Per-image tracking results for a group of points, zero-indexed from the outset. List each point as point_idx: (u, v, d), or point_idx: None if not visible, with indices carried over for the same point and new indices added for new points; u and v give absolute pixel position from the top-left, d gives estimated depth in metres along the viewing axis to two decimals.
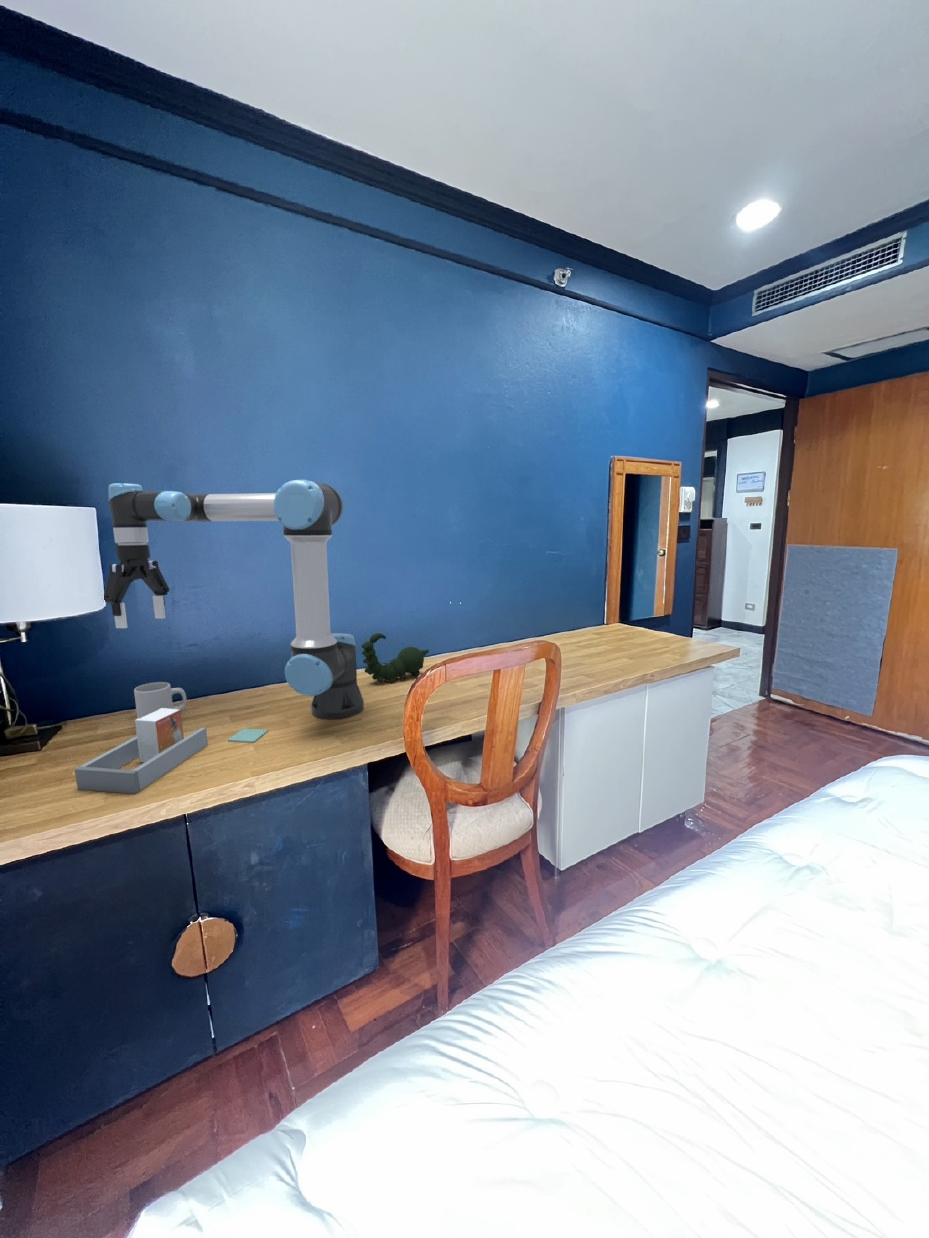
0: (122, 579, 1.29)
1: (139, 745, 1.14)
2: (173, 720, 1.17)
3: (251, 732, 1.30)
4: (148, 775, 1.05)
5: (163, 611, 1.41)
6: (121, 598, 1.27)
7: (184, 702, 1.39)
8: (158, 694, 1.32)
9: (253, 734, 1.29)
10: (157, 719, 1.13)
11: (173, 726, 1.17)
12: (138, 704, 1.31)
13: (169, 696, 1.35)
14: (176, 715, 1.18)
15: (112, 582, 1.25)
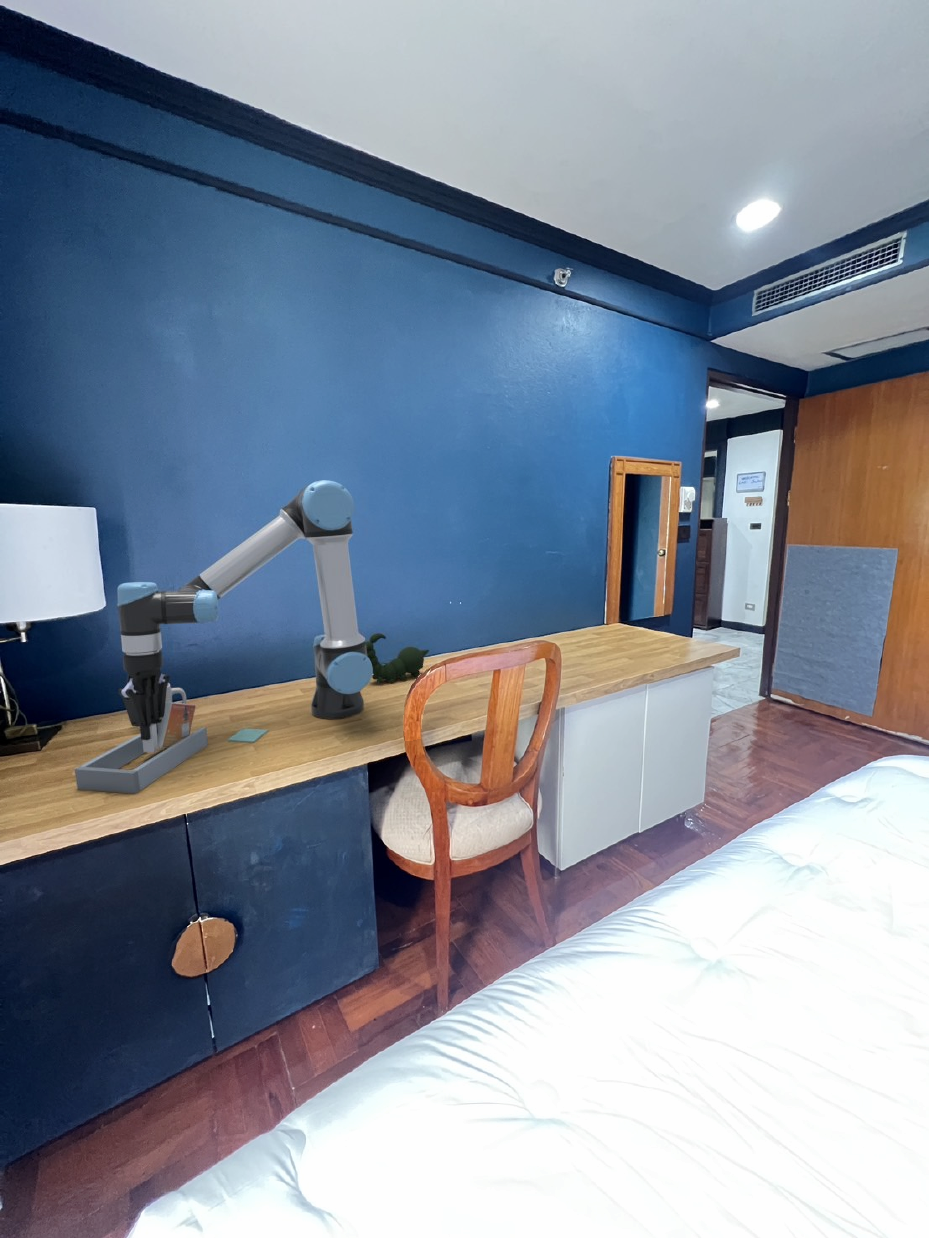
0: (138, 697, 1.11)
1: None
2: (186, 711, 1.22)
3: (251, 732, 1.30)
4: (148, 775, 1.05)
5: (155, 743, 1.14)
6: (149, 719, 1.12)
7: (184, 702, 1.39)
8: None
9: (253, 734, 1.29)
10: (174, 703, 1.18)
11: (185, 718, 1.21)
12: None
13: (169, 696, 1.35)
14: (190, 708, 1.23)
15: (132, 708, 1.08)
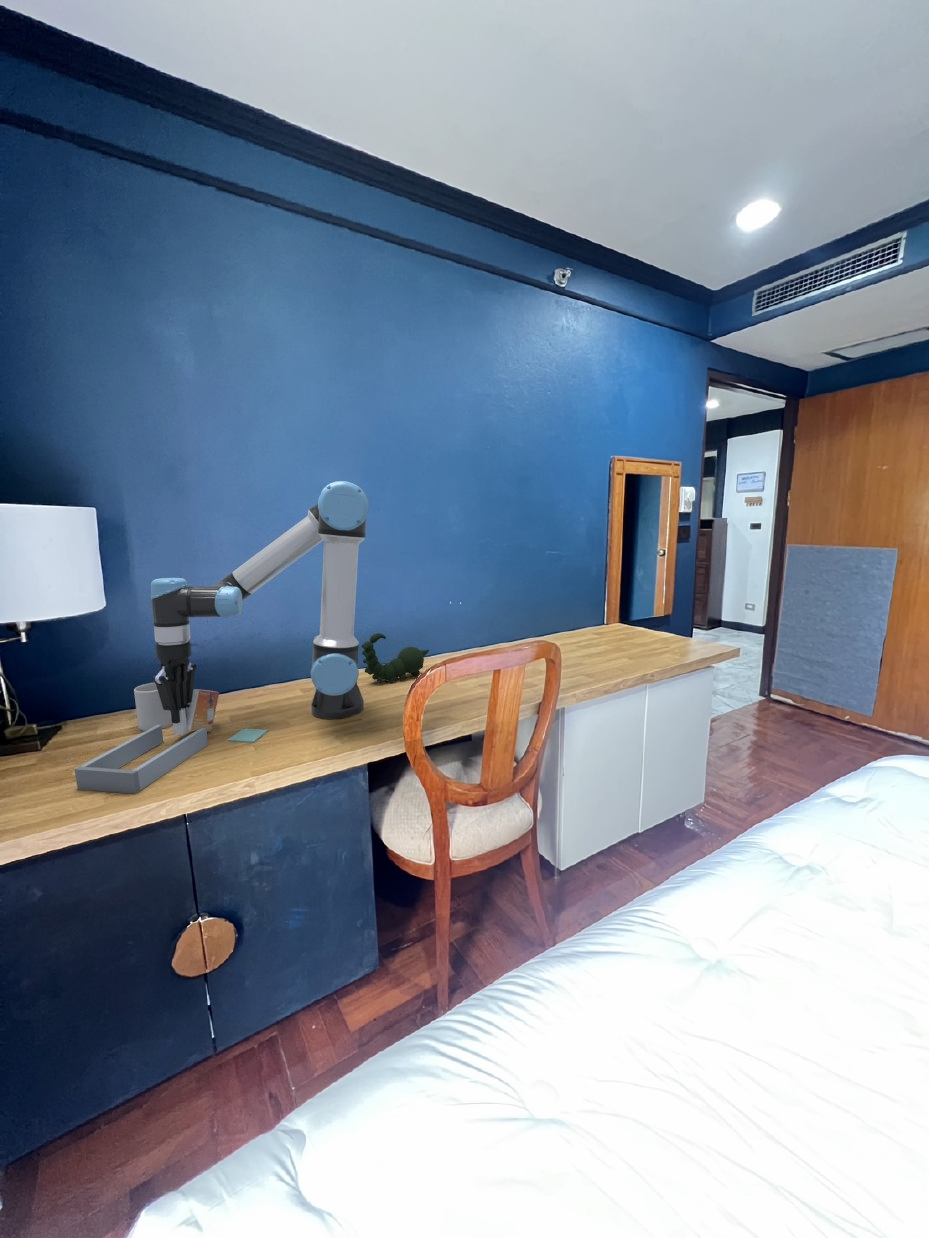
0: (169, 684, 1.21)
1: None
2: (211, 697, 1.31)
3: (251, 732, 1.30)
4: (148, 775, 1.05)
5: (185, 726, 1.24)
6: (179, 704, 1.22)
7: None
8: (158, 694, 1.32)
9: (253, 734, 1.29)
10: None
11: (210, 703, 1.31)
12: (138, 704, 1.31)
13: None
14: (214, 694, 1.33)
15: (164, 693, 1.18)
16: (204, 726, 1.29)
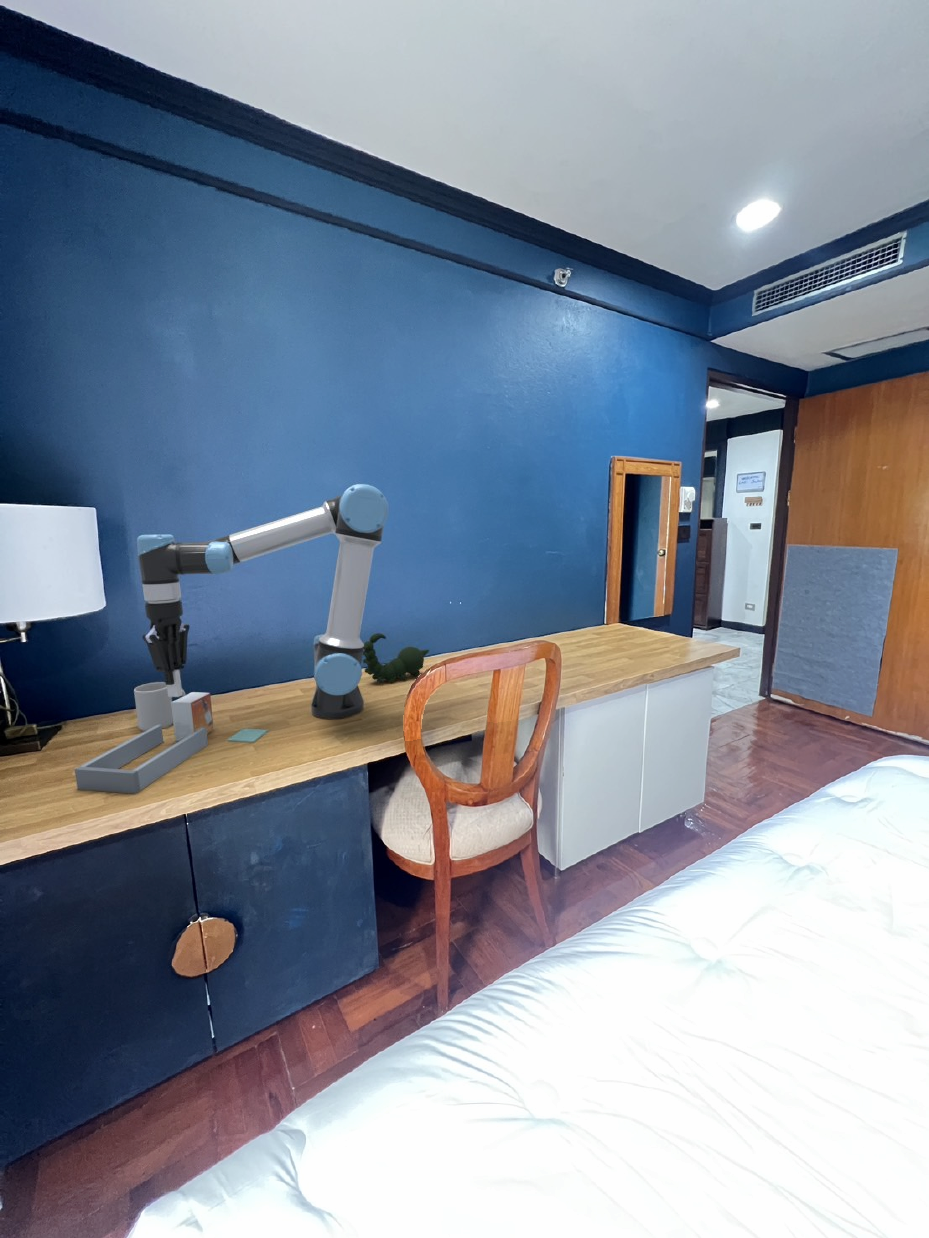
0: (161, 644, 1.17)
1: (175, 725, 1.25)
2: (204, 702, 1.29)
3: (251, 732, 1.30)
4: (148, 775, 1.05)
5: (180, 687, 1.21)
6: (172, 665, 1.19)
7: None
8: (158, 694, 1.32)
9: (253, 734, 1.29)
10: (192, 701, 1.25)
11: (205, 708, 1.29)
12: (138, 704, 1.31)
13: None
14: (206, 697, 1.30)
15: (156, 653, 1.15)
16: (206, 730, 1.30)
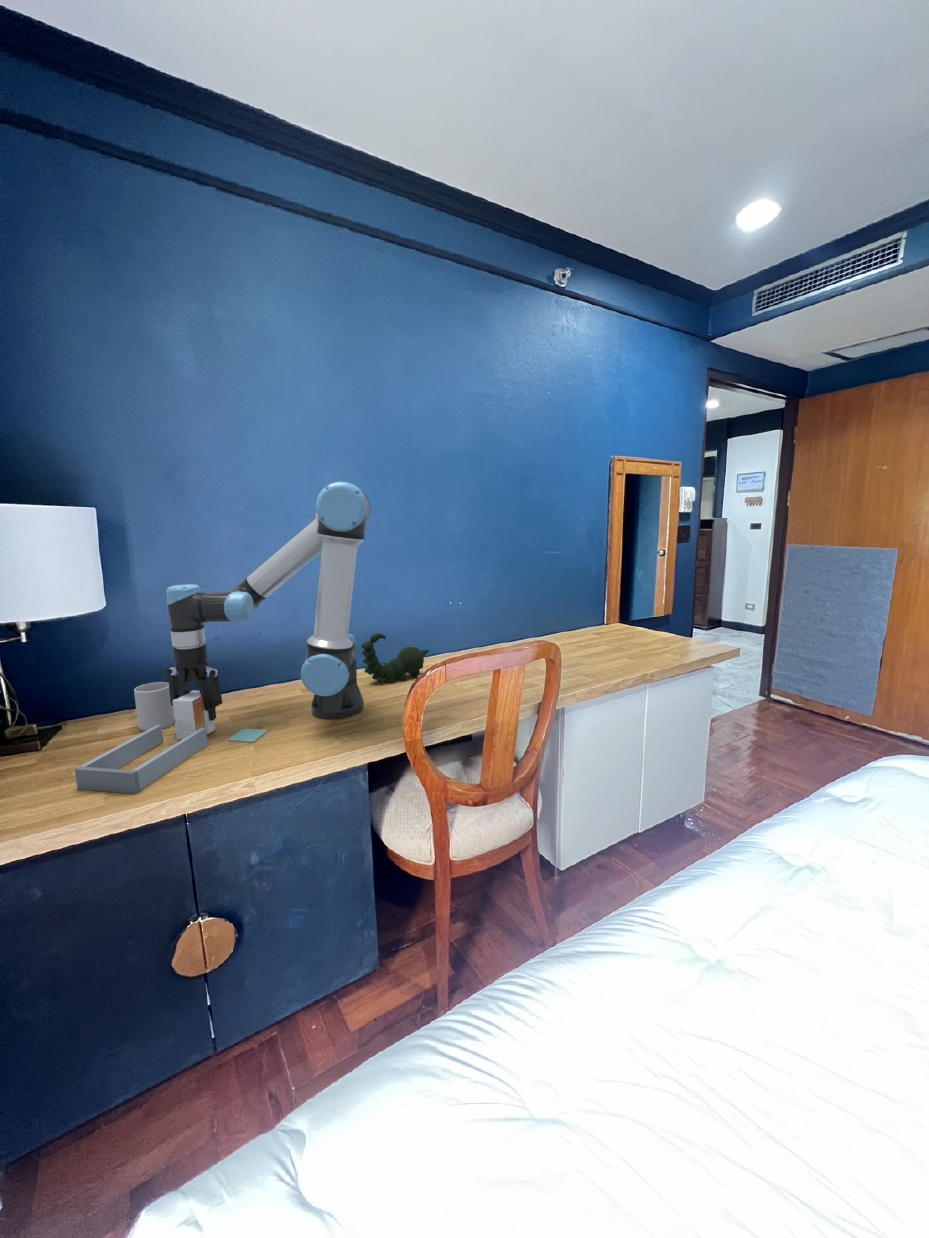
0: None
1: (176, 723, 1.25)
2: None
3: (251, 732, 1.30)
4: (148, 775, 1.05)
5: (206, 726, 1.29)
6: None
7: None
8: (158, 694, 1.32)
9: (253, 734, 1.29)
10: (194, 699, 1.25)
11: None
12: (138, 704, 1.31)
13: (169, 696, 1.35)
14: None
15: None
16: None
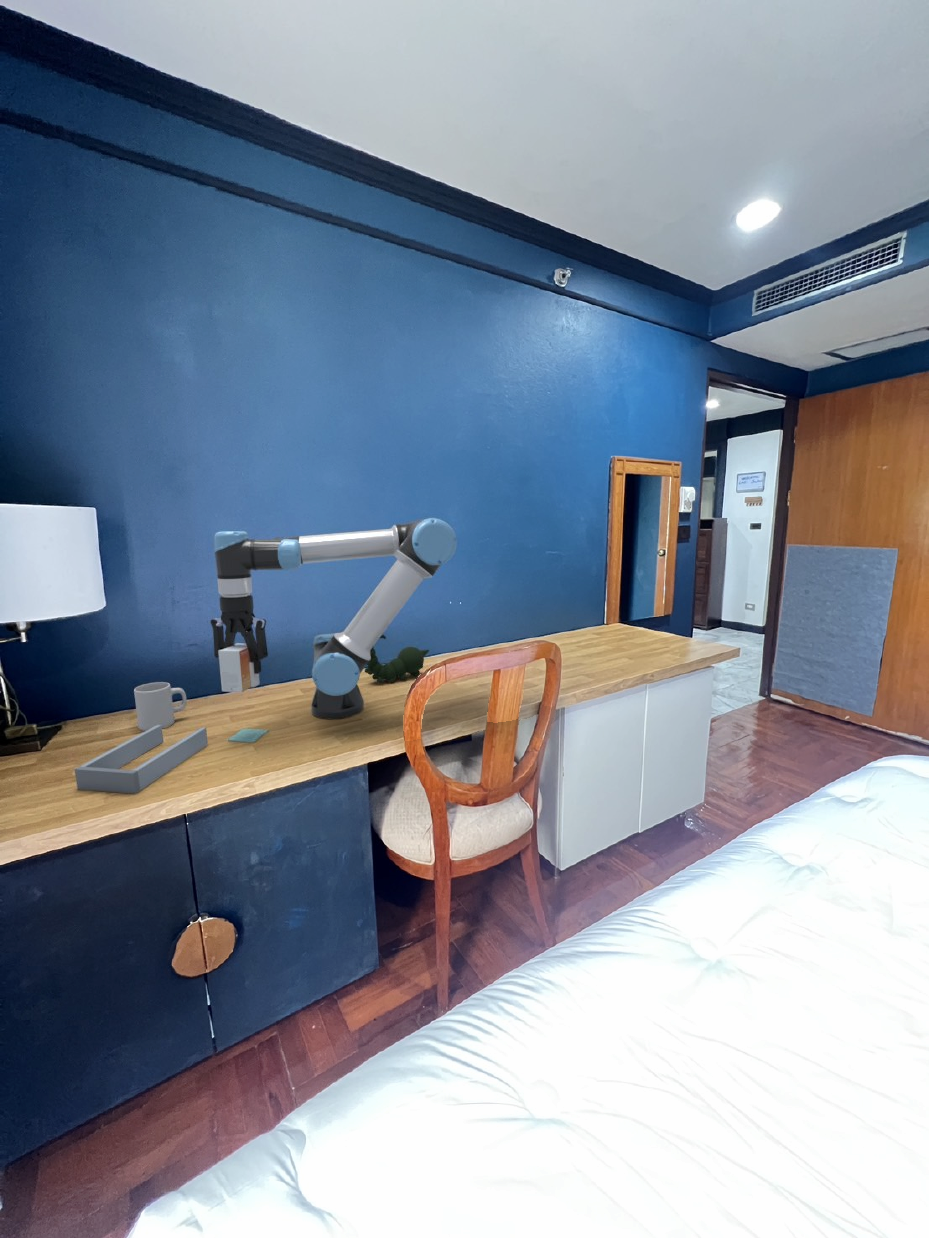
0: None
1: (222, 675, 1.21)
2: None
3: (251, 732, 1.30)
4: (148, 775, 1.05)
5: (251, 679, 1.24)
6: None
7: (184, 702, 1.39)
8: (158, 694, 1.32)
9: (253, 734, 1.29)
10: (240, 650, 1.20)
11: (251, 659, 1.25)
12: (138, 704, 1.31)
13: (169, 696, 1.35)
14: None
15: None
16: None
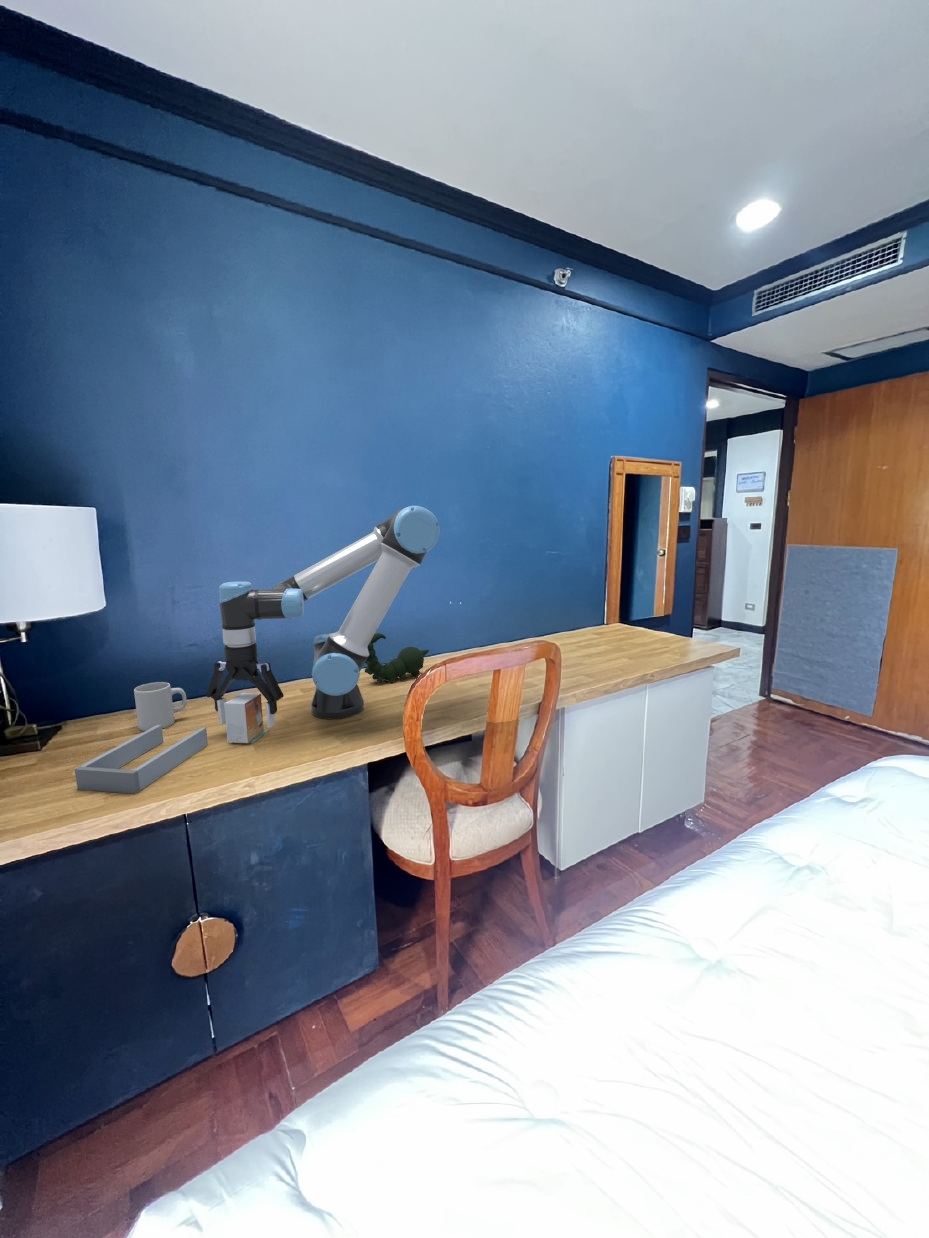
0: None
1: (227, 726, 1.23)
2: (256, 703, 1.27)
3: None
4: (148, 775, 1.05)
5: (267, 720, 1.26)
6: (217, 695, 1.27)
7: (184, 702, 1.39)
8: (158, 694, 1.32)
9: None
10: (246, 702, 1.23)
11: (256, 709, 1.27)
12: (138, 704, 1.31)
13: (169, 696, 1.35)
14: (258, 698, 1.28)
15: None
16: (257, 731, 1.28)
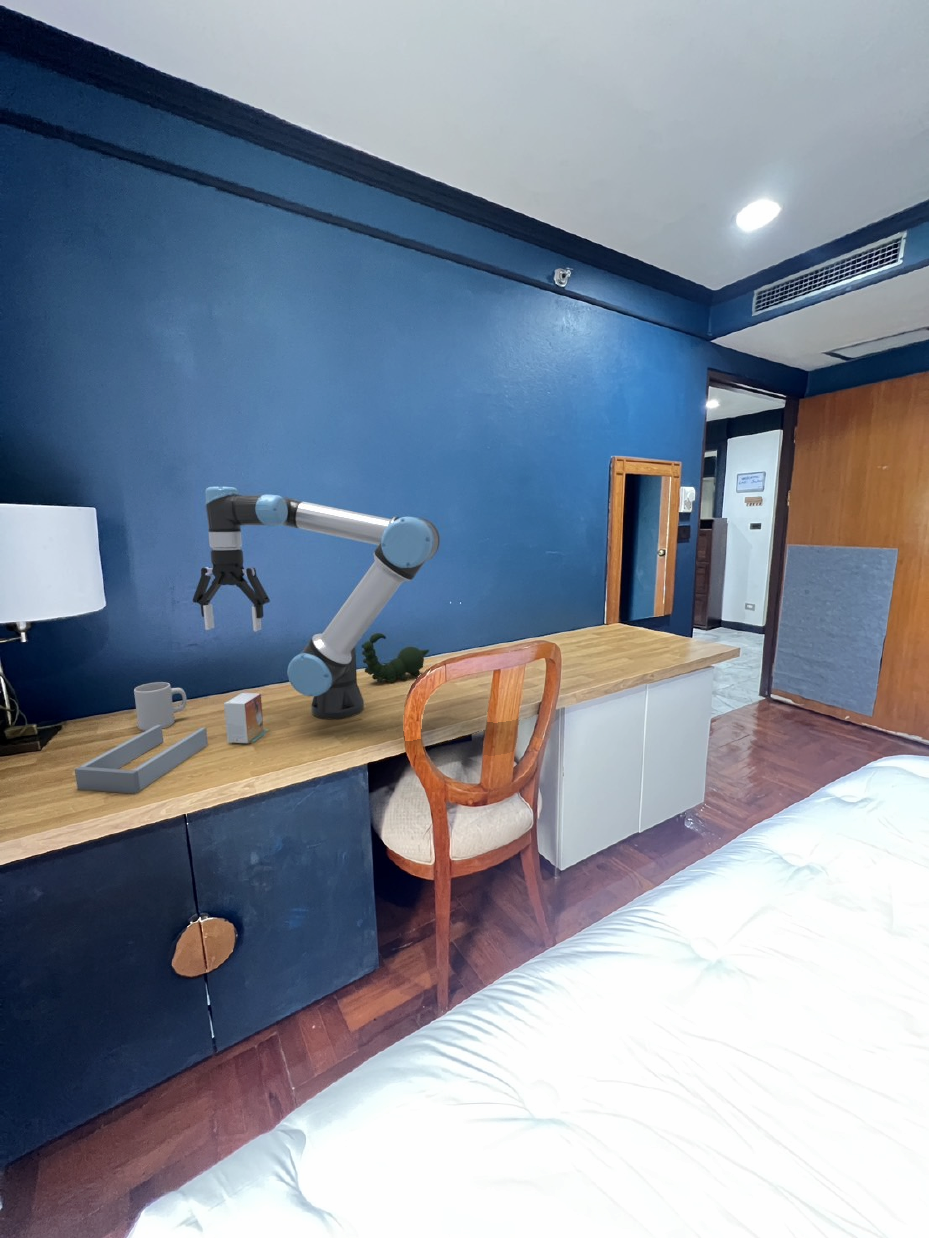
0: None
1: (227, 726, 1.23)
2: (256, 703, 1.27)
3: None
4: (148, 775, 1.05)
5: (254, 623, 1.29)
6: (203, 600, 1.30)
7: (184, 702, 1.39)
8: (158, 694, 1.32)
9: None
10: (245, 702, 1.23)
11: (256, 709, 1.27)
12: (138, 704, 1.31)
13: (169, 696, 1.35)
14: (258, 698, 1.28)
15: None
16: (257, 731, 1.28)
